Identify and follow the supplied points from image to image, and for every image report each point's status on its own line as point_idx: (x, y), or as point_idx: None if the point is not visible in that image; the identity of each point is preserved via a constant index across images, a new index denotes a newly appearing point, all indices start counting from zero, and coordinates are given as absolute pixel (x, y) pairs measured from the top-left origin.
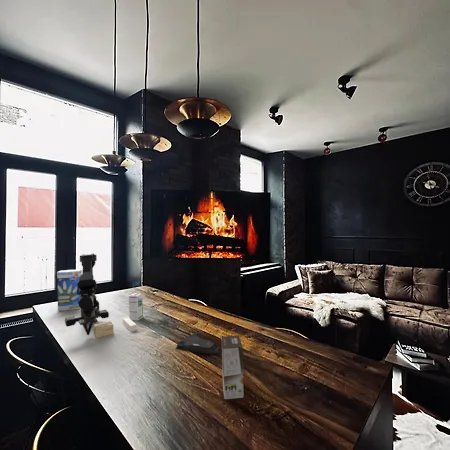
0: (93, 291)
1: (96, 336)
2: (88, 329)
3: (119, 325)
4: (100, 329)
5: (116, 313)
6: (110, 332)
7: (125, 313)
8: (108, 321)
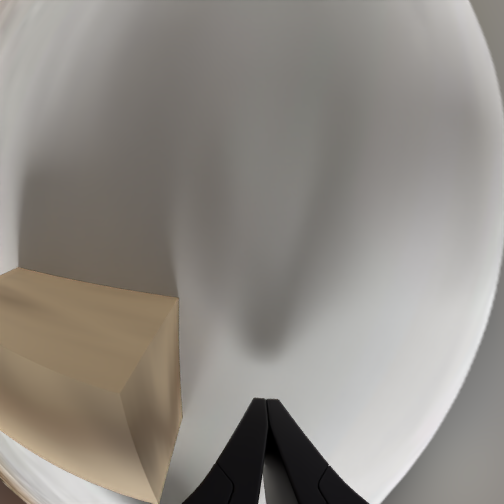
0: None
1: (171, 306)
2: (263, 459)
3: None
4: (69, 341)
5: (62, 492)
6: (24, 278)
7: (24, 463)
8: (5, 430)
